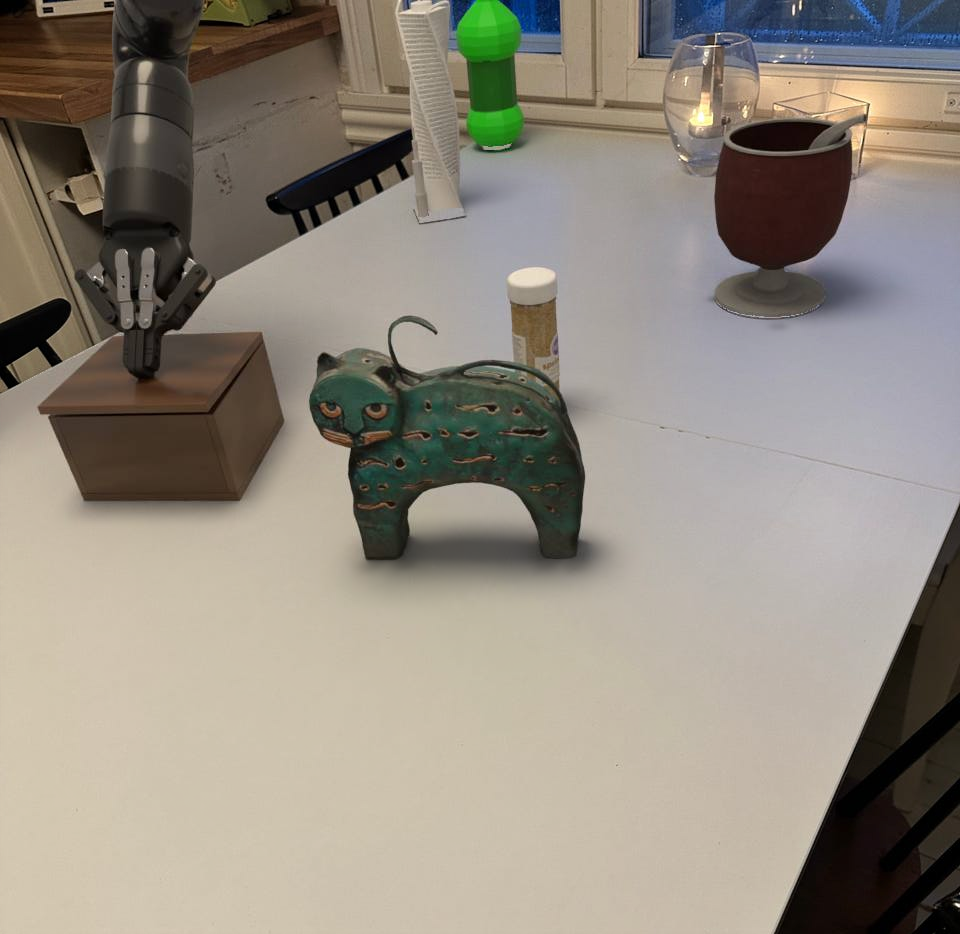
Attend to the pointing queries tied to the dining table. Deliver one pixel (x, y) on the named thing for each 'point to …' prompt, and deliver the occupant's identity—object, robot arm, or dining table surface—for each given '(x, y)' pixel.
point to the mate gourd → (780, 208)
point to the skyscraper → (431, 106)
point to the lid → (155, 377)
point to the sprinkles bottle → (535, 322)
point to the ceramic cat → (448, 440)
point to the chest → (176, 444)
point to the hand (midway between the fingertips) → (140, 375)
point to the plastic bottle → (491, 72)
